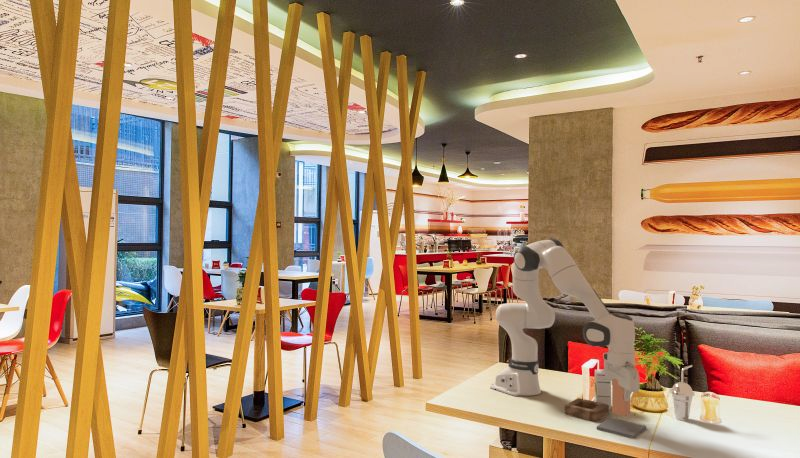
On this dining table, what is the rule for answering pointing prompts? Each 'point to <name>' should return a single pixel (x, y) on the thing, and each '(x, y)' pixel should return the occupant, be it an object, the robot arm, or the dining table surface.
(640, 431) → the slate mat
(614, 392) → the terracotta peg
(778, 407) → the dining table surface
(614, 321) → the robot arm
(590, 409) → the socket holder
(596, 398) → the syrup box
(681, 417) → the cup with straw
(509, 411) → the dining table surface
